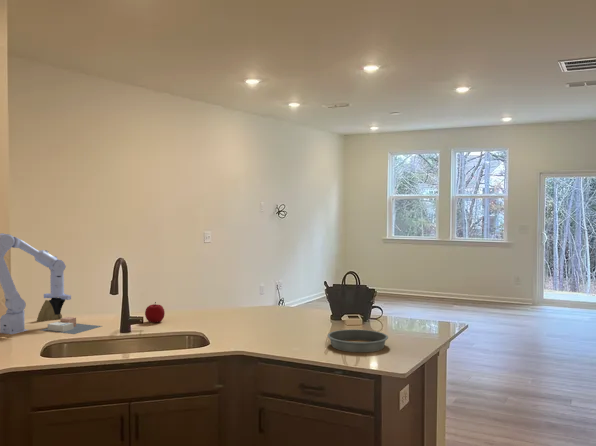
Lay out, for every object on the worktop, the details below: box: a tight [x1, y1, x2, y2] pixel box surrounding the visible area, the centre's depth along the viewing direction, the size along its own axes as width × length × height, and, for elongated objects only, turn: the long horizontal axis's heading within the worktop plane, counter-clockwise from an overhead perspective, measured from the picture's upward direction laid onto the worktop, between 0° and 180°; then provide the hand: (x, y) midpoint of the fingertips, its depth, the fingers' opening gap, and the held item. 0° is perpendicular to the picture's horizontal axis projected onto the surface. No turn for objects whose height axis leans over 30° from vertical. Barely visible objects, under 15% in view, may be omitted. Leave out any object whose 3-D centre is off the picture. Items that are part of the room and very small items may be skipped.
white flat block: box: [47, 321, 73, 332], centre depth 252 cm, size 6×9×3 cm, turn 69°
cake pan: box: [327, 328, 389, 353], centre depth 228 cm, size 25×25×4 cm
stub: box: [59, 316, 77, 327], centre depth 258 cm, size 4×5×4 cm
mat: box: [40, 323, 103, 335], centre depth 255 cm, size 18×20×1 cm
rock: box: [36, 299, 63, 322], centre depth 274 cm, size 11×9×10 cm
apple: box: [144, 301, 165, 324], centre depth 273 cm, size 9×9×10 cm
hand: (57, 314), depth 260 cm, fingers closed
